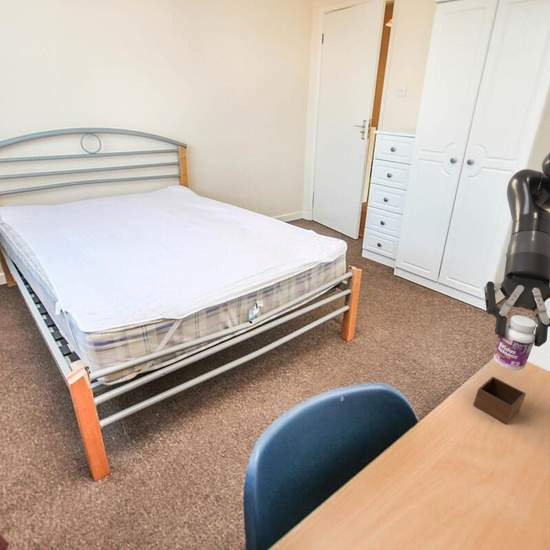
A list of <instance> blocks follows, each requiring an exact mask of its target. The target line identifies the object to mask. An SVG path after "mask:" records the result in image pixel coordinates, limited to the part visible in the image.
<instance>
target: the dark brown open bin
mask: <svg viewBox="0 0 550 550" xmlns="http://www.w3.org/2000/svg"><path fill="white" fill-rule="evenodd" d="M526 394H527V393H526V392H524V391H522V390H520V389H519V388H516V387H515V386H512V385H511V384H509V383H507V382H504V381H503V380H500V379H499V378H497V377H495V376H491V377H490V378H489V379H488V380H487V381H485V382H484V383H483V384H482V385H481V386H480V387H479V388H478V389H477V391H476V395H475V397H474V401H473V405H472V406H473V407H475V408H476V409H479V410H480V411H482V412H483V413H485V414H487V415H488V416H490V417H492V418H494V419H496V420H497V421H498V422H500V423H503V424H504V425H507V424H508V423H509V422H510V421H511V420H512V419H513V418H514V417H515V416H516V415H517V414H518V412H519V411H520V410H521V408H522V406H523V402H524V400H525V397H526Z"/></svg>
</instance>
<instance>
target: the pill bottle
mask: <svg viewBox="0 0 550 550" xmlns="http://www.w3.org/2000/svg"><path fill="white" fill-rule="evenodd" d="M536 327H537V322H536V320H533V319H532V318H530V317H528V316H525V315H519V314H514V315H512V316H511V317H510V319H509V322H508V324H506V332H505V337H504V338H498V342H497V345H496V348H495V350H494V354H493V360H494V361H495V363H497V364H498V365H499V366H501V367H502V368H504V369H507V370H510V371H521V370H523V369H524V368H525V367H526V364H527V362H528V359H529V358H530V355H531V352H532V349H533V347H534V341H535V330H536Z"/></svg>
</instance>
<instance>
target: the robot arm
mask: <svg viewBox="0 0 550 550" xmlns="http://www.w3.org/2000/svg"><path fill="white" fill-rule="evenodd" d="M541 170H542V171H538V170H535V169H532V168H531V169H530V168H522V169H520V170H517V172H515V173H514V174H513V175H512V176H511V178H510V179H509V181H508V183H507V187H506V188H507V189H506V198H507V203H508V207H509V212H510V217H511V221H512V224H511V232H510V239H509V241H508V245H507V251H506V253H505V258H506V259H505V267H504V275H503V280H502V282H501V283H494V282H493V281H492V280H491V281H488V282H487V283H486V284H485V286H484V287H483V291H484V299H485V300H484V301H485V311H486V314H488V315H492V316H493V317H495V325H494V326H495V328H494V333H495V335H497V338H498V339H500V338H504V337H505V332H506V325H508V324H507V323H508V317H507V315H508V313H509V312H510V310H511V309H512V308H522V309H525V310H527V311H530V312H531V315H532V317H534V319H535V320H534V321H535V323H536V326H535V330H534V334H535V341H534V344H533V347H541V346H543V345H544V344H546V343H547V341H548V333H549V332H548V331H549V328H550V317H549V315H548V311H547V307H546V304H545V302H546V301H547V300H549V299H550V211H549V210H550V152H549V153H547V154H546V155H545V156H544V158H543V160H542V162H541ZM499 291H500V292H501V293H502V296H504V298H505V299H506V300H505V302H503V305H502V306H501V308H499V307H497V300H496V298H497V297H496V295H497V294H498V293H499Z"/></svg>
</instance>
